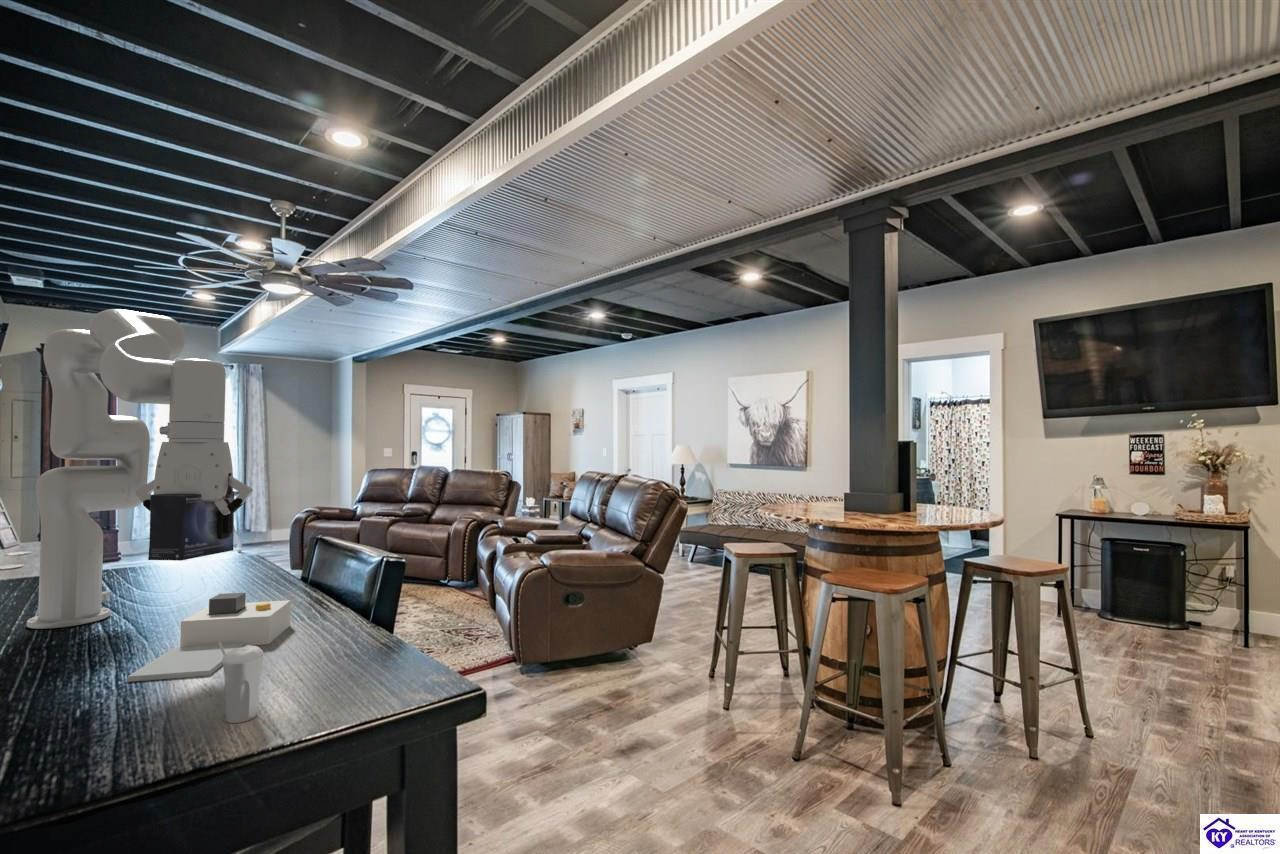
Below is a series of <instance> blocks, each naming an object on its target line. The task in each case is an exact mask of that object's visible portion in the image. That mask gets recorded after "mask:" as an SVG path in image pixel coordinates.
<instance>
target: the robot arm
mask: <svg viewBox="0 0 1280 854" xmlns="http://www.w3.org/2000/svg"><path fill="white" fill-rule="evenodd" d="M88 328H89V329H88V330H87V329H78V328H76V329H74V328H67V329H66V328H64V329H57V330H55V331H52V332H51V333H50V334H48V336H47V337H46V339H45V341H44V346H43V352H42V353H43V362H44V366H45V369H46V372H47V376H48V378H49V381H50V386H51V389H52V403H51V415H50V431H49V432H50V433H49V444H50V446H49V447H50V450H51V452H52V454H53V455H54V456H56V457H57V458H59V459H64V460H71V461H72V460H77V461H78V460H79V461H80V460H81V461H82V460H83V461H84V460H85V461H86V460H87V461H90V460H91V461H92V460H93V461H95V460H96V461H99V460H100V461H101V460H102V461H104V460H106V461H107V460H111V461H112V460H116V464H117V465H78V466H77V465H74V466H72V465H71V466H70V465H69V466H61V467H56V468H52V469H49V470H46V471H45V472H43V473H42V474H41V475H39V477H38V479H37V481H36V483H35V485H36V486H35V494H36V499H37V506H38V511H39V518H40V545H39V546H40V551H39V552H40V554H39V574H38V575H39V576H38V578H39V581H38V605H37V606H38V609H37V612H38V613H37V614H38V615H35V616H33V617H31V618H29V619H27V620H26V627H27V628H29V629H34V630H35V629H36V630H38V629H39V630H40V629H41V630H42V629H44V630H45V629H46V630H47V629H60V628H68V627H74V626H76V627H77V626H80V625H86V624H90V623H94V622H98V621H101V620H104V619H106V618H108V617H110V616H111V611H112V610H111V609H110V608H108V607H102V603H103V602H105V601H108V600H109V599H110V598H111V593H110V592H109V591H103V590H102V589H103V561H104V560H103V559H104V558H103V557H104V532H103V529H102V528H101V526H100V524H98V522H96V520H94V519H93V518H92V517H91V516H90V515H89V514H90V513H93V512H101V511H102V512H103V511H115V510H119V511H120V510H126V509H133V508H136V507H139V506H140V505H141V504H142V506H143V507H144V508H145V509H147V510H148V511H149V512H150V507H151V504H150V503H151V499H150V496H151V495H152V494H153V495H154V494H201V497H202V501H204V502H214V503H215V504H216V506H217V507H218V509H219V510H220V511H221V515H219V516H218V519H217V539H225V538H228V537H229V535H230V533H232V526H233V513H234V514H235V513H236V512H237V510H239V508H241V507H242V506H243V505H244V504H245V503H246V501H247V500H248V498H249V497H250V496H251V495H252V493H253V492H254V490H253V488H252V487H250V486H248V485H247V484H245V483H244V482H242V481H240V480H239V479H237V478H235V477H234V471H233V461H232V455H231V449H230V445H229V442H227V441H226V442H225V415H226V413H225V412H226V380H227V379H226V378H227V376H226V371H227V370H226V368H225V366H224V365H223V364H222V363H221V362H219V361H216V360H209V359H204V358H203V359H202V358H201V359H200V358H181V359H177V358H178V357H179V356H180V354H181V353H182V352H183V350H184V347H185V342H186V335H185V331H184V328H183V327H182V325H181V324H180V323H179V321H177V320H175V319H174V318H173V317H170V316H165V315H159V314H154V313H147V312H141V311H140V312H139V311H135V310H129V309H121V308H109V309H105V310H102V311H99V312H97V313H96V314H95V315H94V316H93V317H91V319H90V321H89V324H88ZM176 359H177V360H176ZM95 374H99V375H100V378H101V380H100V379H99V378H98V377H97V376H96V375H95ZM106 388H107V389H106ZM108 390H109V391H110V393H111V394H113V396H115V398H117V399H119V400H122V401H124V402H127V403H128V402H129V403H133V404H136V403H137V404H153V405H154V404H155V405H169V412H168V414H169V415H168V416H169V418H168V422H167V425H166V426H160V428H159V434H160V435H165V436H166V438H167V439H168V441H162V442H161V445H160V447H159V448H160V449H159V451H158V456H157V461H156V466H155V471H154V479H153V480H151V481H150V482H148V480H149V479H148V476H149V463H150V462H149V461H150V450H151V449H150V448H151V447H150V446H151V436H150V431H149V429H148V426H147V424H146V423H145V421H143V420H142V419H140V418H139V417H135V416H131V415H115V414H114V415H112V414H111V415H110V414H109V413H108V405H109V392H108ZM234 490H235V491H237V492H238V495H237V497H236V498H234V500H233V501H232V502H231V501H230V499H229V498H230V497H231V496H232V493H233V491H234ZM152 492H153V493H152ZM226 494H227V495H226Z"/></svg>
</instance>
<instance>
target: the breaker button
mask: <svg viewBox="0 0 1280 854" xmlns="http://www.w3.org/2000/svg"><path fill="white" fill-rule="evenodd" d="M246 596H247V595H246V592H232V593H231V592H230V593H218V594H217V595H215V596H213V597H211V598H210V599H209V600H208V606H209V615H218V614H236V613H239V612H240V611H242V610H243V609H245V603H246V598H247V597H246Z"/></svg>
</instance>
